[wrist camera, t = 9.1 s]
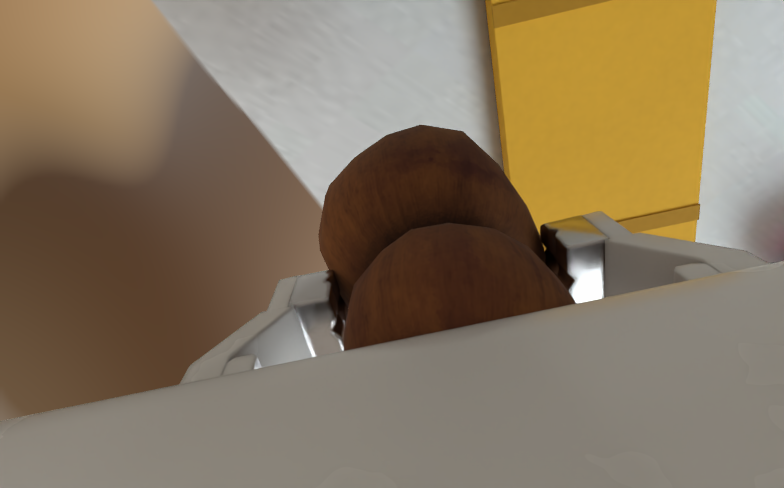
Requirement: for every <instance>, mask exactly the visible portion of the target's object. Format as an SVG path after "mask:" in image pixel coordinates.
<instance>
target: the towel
mask: <svg viewBox="0 0 784 488" xmlns="http://www.w3.org/2000/svg"><path fill="white" fill-rule="evenodd" d="M716 1H717V0H485V3H486V12H487V21H488V30H489V39H490V48H491V57H492V66H493V75H494V84H495V94H496V103H497V112H498V121H499V130H500V139H501V148H502V157H503V166H504V173H505V175H506V176H507V178H508V179H509V181H510V182H511V183H512V185H513V186H514V188H515V189H516V191H517V192H518V194H519V195H520V197H521V198H522V199H523V201H524V202H525V204H526V205H527V207H528V209H529V212H530V214H531V216H532V218H533V221H534V223H535V225H536V227H537V230H538V232H539V234H540V226H541V225H543V224H545V223H549V222H553V221H557V220H562V219H566V218H570V217H574V216H578V215H585V214H589V213H593V212H596V211H602V212H603V213H605V214H606V215H608V216H609V217H610V218H612V219H613V220H614V221H616V222H617V223H619V224H620V225H621V226H623V227H624V228H626V229H627V230H628V231H630V232H631V233H632V234H634V233H645V234H651V235H657V236H663V237H668V238H674V239H680V240H686V241H692V242H695V237H696V225H697V220H699V212H700V204H698V203H699V192H700V180H701V169H702V158H703V147H704V135H705V124H706V113H707V102H708V91H709V79H710V68H711V57H712V46H713V34H714V23H715V12H716ZM543 247H544V251H545V250H546V247H545V246H544V245H543Z"/></svg>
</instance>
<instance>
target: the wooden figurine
mask: <svg viewBox="0 0 784 488" xmlns="http://www.w3.org/2000/svg"><path fill="white" fill-rule="evenodd" d="M319 244H320V251H321V253H322V256H323V258H324V260H325V262H326V264H327V266H328V269H329V270H333V271H334V274H335V276H336V279H337V282H338V285H339V288H340V295H341V297H342V299H343V300H344V302H345V303H346V305H347V306H348V314H347V319H346V325H345V330H344V351H346V350H351V349H356V348H360V347H365V346H370V345H375V344H380V343H385V342H390V341H395V340H400V339H405V338H409V337H414V336H419V335H424V334H429V333H434V332H439V331H444V330H449V329H454V328H459V327H463V326H468V325H473V324H478V323H483V322H488V321H493V320H498V319H503V318H508V317H512V316H517V315H522V314H527V313H532V312H537V311H542V310H547V309H552V308H557V307H561V306H566V305H571V304H576V301H575V300H574V299H573V297H572V296H571V294H570V293H569V292H568V290H567V289H566V288H565V286H564V285H563V284H562V282H561V281H560V280H559V279H558V278H557V277H556V275H555V274H554V273H553V272H552V271H551V270H550V269H549V268H548V267H547V266H546V262H545V260H546V255H545V251H544V247H543V244H542V242H541V240H540V234H539V232H538V230H537V227H536V225H535V223H534V221H533V218H532V216H531V214H530V212H529V209H528V207H527V205H526V204H525V202H524V201H523V199H522V198H521V197H520V195H519V194H518V192H517V191H516V189H515V188H514V186H513V185H512V183H511V182H510V181H509V179H508V178H507V176H506V175H505V173H504V172H503V170H502V169H501V168H500V166H499V165H498V163H496V162H495V161H494V160H493V159H492V158H491V157H490V156H489V155H488V154H487V153H486V152H484V151H483V150H482V149H481V148H480V147H479V146H478V145H477V144H476V143H475V142H474V141H473V140H472V139H470V138H469V137H468V136H467V135H466V134H465V133H464V132H463V131H457V130H451V129H444V128H438V127H432V126H426V125H418V126H415V127H412V128H408V129H405V130H402V131H398V132H395V133H392V134H389V135H386V136H385V137H383V138H382V139H380V140H379V141H378V142H376V143H375V144H373V145H372V146H370V147H369V148H367V149H366V150H365V151H363V152H362V153H360V154H359V155H358V156H356V157H355V158H354V159H353V160H352V161H351V162H350V163H349V164H348V165H347V166H346V168H345V169H344V170H343V171H342V172H341V173H340V174H339V175H338V176H337V177H336V179H335V180H334V181H333V182H332V183H331V184H330V185H329V188H328V190H327V193H326V195H325V201H324V206H323V212H322V218H321V223H320V229H319Z"/></svg>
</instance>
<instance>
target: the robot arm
mask: <svg viewBox="0 0 784 488" xmlns="http://www.w3.org/2000/svg"><path fill="white" fill-rule="evenodd" d="M540 240H541V242H542V244H543V245H544V246H545V247H546V250H545V255H546V260H545V262H546V266H547V267H548V268H549V269H550V270H551V271H552V272H553V273H554V274H555V275H556V277H557V278H558V279H559V280H560V281H561V282H562V284H563V285H564V286H565V288H566V289H567V290H568V292H569V293H570V294H571V296H572V297H573V299H574V300H575V301H576V304H571V305H566V306H561V307H557V308H552V309H547V310H542V311H537V312H532V313H527V314H522V315H517V316H512V317H508V318H503V319H498V320H493V321H488V322H483V323H478V324H473V325H468V326H463V327H459V328H454V329H449V330H444V331H439V332H434V333H429V334H424V335H419V336H414V337H409V338H405V339H400V340H395V341H390V342H385V343H380V344H375V345H370V346H365V347H360V348H356V349H351V350H346V351H344V330H345V325H346V319H347V314H348V306H347V305H346V303H345V302H344V300H343V299H342V297H341V295H340V288H339V285H338V282H337V279H336V276H335V274H334V271H333V270H327V271H321V272H317V273H311V274H306V275H301V276H294V277H290V278H287V279H282V280H279V282H278V285H277V287H276V289H275V292H274V294H273V297H272V300H271V302H270V305H269V307H268V310H267V311H265V312H261V313H260V314H258V315H257V316H256V317H255V318H253V319H252V320H250V321H249V322H248V323H246V324H245V325H244V326H242V327H241V328H240V329H238V330H237V331H236V332H234V333H233V334H232V335H230V336H229V337H228V338H226V339H225V340H224V341H222V342H221V343H220V344H218V345H217V346H216V347H214V348H213V349H212V350H210V351H209V352H208V353H206V354H205V355H204V356H202V357H201V358H199V359H198V360H197V361H195V362H194V363H193V364H191V365H190V367H189V368H188V370H187V372H186V374H185V375H184V377H183V379H182V381H181V382H180V384H179V385H175V386H170V387H165V388H160V389H156V390H151V391H145V392H141V393H136V394H131V395H126V396H121V397H116V398H111V399H107V400H102V401H97V402H92V403H87V404H82V405H78V406H72V407H67V408H63V409H58V410H53V411H48V412H43V413H38V414H33V415H29V416H24V417H19V418H14V419H9V420H4V421H0V488H784V261H781V262H776V263H772V264H769V263H767V262H765V261H764V260H762V259H760V258H758V257H756V256H755V255H753V254H751V253H749V252H747V251H744V250H738V249H732V248H726V247H720V246H715V245H709V244H703V243H697V242H692V241H686V240H680V239H674V238H668V237H663V236H657V235H651V234H645V233H634V234H632V233H631V232H630V231H628V230H627V229H626V228H624V227H623V226H621V225H620V224H619V223H617V222H616V221H614V220H613V219H612V218H610V217H609V216H608V215H606V214H605V213H603V212H602V211H596V212H593V213H589V214H585V215H578V216H574V217H570V218H566V219H562V220H557V221H553V222H549V223H545V224H543V225H541V226H540Z"/></svg>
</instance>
